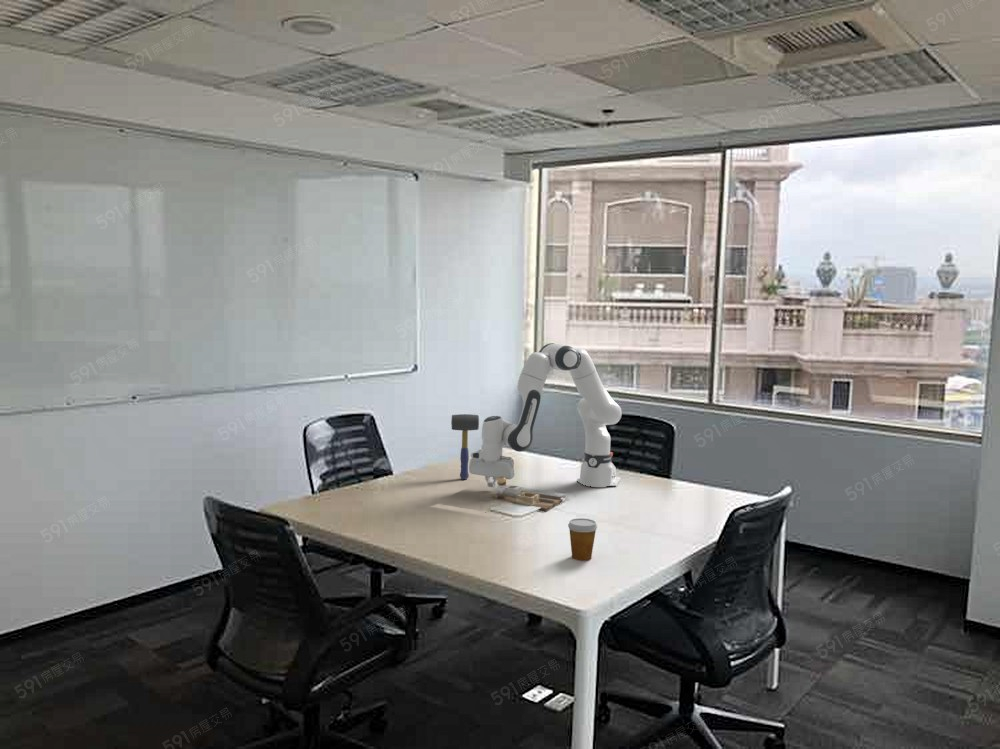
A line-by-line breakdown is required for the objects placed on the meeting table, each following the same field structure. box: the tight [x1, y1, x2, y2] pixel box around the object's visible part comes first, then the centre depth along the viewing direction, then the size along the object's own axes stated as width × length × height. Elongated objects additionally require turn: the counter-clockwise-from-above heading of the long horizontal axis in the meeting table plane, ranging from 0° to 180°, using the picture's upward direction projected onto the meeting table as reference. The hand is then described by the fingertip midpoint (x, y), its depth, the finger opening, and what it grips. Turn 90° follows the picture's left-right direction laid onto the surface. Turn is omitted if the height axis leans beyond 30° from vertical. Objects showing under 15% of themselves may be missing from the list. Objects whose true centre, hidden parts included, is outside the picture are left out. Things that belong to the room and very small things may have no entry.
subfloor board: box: [488, 490, 563, 513], centre depth 328 cm, size 16×26×2 cm, turn 62°
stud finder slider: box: [505, 483, 522, 495], centre depth 335 cm, size 5×8×3 cm, turn 62°
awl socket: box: [515, 491, 541, 506], centre depth 322 cm, size 7×7×3 cm
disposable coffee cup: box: [567, 517, 598, 562], centre depth 261 cm, size 10×10×12 cm
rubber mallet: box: [451, 413, 480, 480], centre depth 363 cm, size 12×8×30 cm, turn 95°
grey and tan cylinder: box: [496, 477, 507, 499], centre depth 328 cm, size 4×4×8 cm
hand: (491, 486), depth 339 cm, fingers closed
